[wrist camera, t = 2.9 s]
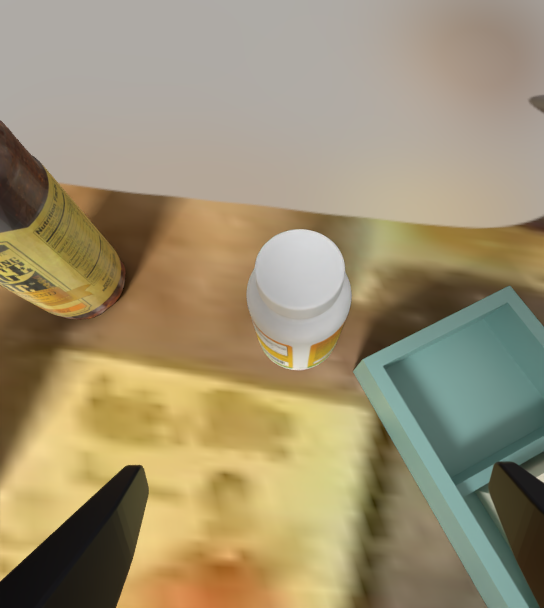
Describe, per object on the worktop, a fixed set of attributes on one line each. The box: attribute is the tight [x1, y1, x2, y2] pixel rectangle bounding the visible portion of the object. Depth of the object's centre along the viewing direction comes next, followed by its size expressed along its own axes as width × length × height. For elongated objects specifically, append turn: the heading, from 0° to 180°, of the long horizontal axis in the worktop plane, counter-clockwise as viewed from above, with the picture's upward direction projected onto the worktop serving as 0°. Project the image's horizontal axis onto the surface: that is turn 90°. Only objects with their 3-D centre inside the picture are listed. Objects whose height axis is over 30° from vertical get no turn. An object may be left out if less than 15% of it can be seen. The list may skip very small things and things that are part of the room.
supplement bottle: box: [247, 229, 352, 370], centre depth 20 cm, size 5×5×10 cm
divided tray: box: [353, 286, 544, 608], centre depth 20 cm, size 16×10×4 cm, turn 26°
